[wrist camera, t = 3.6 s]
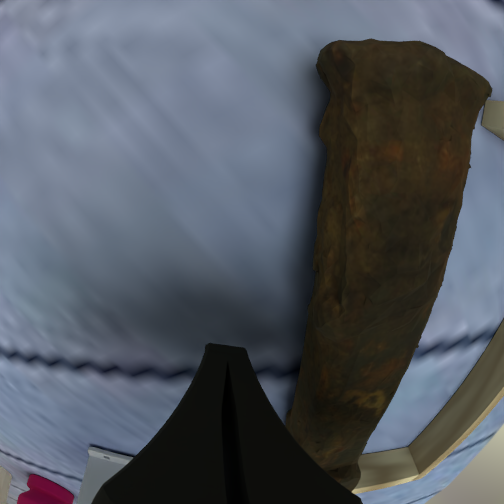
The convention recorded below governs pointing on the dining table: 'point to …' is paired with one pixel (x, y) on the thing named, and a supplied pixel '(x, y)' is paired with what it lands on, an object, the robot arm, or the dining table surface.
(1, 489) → the cream cylinder
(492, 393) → the beige bent bracket
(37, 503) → the pepper mill
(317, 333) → the hand tool
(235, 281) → the dining table surface
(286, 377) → the dining table surface
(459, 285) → the dining table surface
